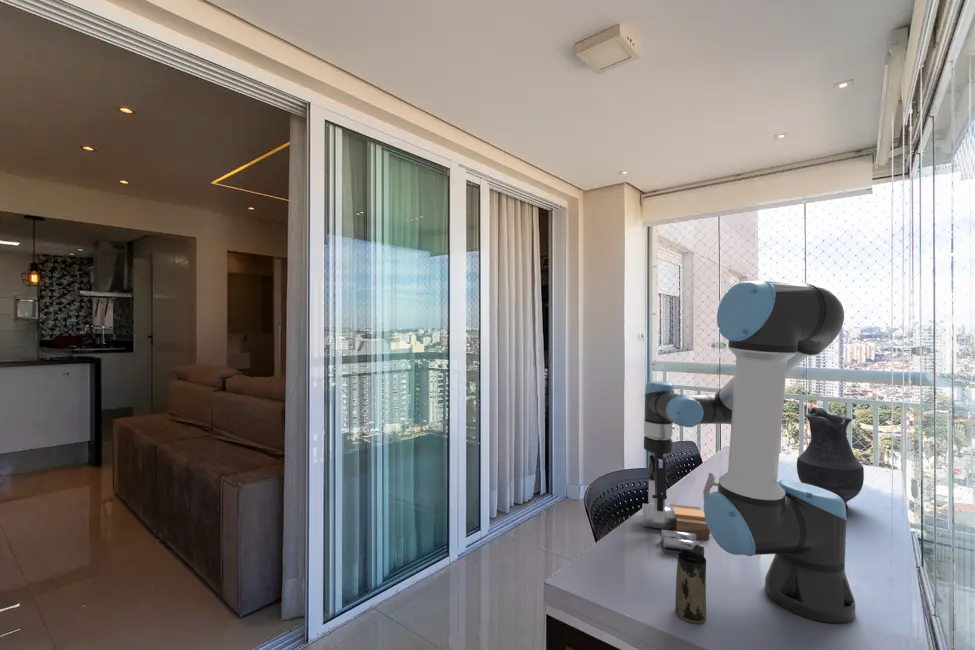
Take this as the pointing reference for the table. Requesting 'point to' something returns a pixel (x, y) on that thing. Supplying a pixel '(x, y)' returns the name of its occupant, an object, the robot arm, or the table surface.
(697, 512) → the orange brown block
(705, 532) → the cardboard box
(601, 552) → the table surface
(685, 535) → the v block
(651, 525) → the silver metal cylinder
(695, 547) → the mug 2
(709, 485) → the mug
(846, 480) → the pitcher
